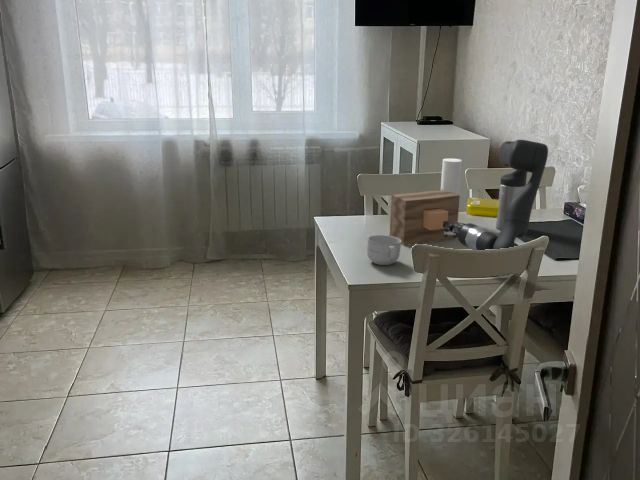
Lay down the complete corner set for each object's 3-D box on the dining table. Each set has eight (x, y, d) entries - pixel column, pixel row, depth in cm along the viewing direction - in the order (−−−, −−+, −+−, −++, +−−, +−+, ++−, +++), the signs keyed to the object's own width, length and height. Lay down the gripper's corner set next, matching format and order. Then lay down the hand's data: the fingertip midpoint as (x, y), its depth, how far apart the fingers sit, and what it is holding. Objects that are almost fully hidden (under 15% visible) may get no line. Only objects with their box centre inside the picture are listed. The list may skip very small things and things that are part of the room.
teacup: (364, 257, 206) (365, 233, 204) (396, 256, 207) (397, 233, 205) (371, 271, 193) (372, 247, 191) (405, 271, 194) (406, 246, 192)
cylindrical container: (443, 219, 251) (447, 157, 244) (459, 222, 247) (464, 159, 240) (435, 223, 246) (439, 160, 238) (452, 226, 242) (457, 162, 234)
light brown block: (447, 228, 218) (448, 211, 216) (429, 230, 215) (431, 213, 214) (434, 222, 225) (435, 206, 223) (417, 224, 222) (418, 207, 221)
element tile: (503, 218, 255) (504, 207, 254) (465, 215, 259) (466, 204, 257) (503, 209, 269) (504, 198, 268) (467, 206, 273) (468, 196, 271)
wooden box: (456, 238, 227) (459, 195, 222) (403, 245, 218) (405, 201, 214) (440, 231, 235) (443, 189, 231) (389, 237, 227) (391, 194, 222)
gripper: (494, 224, 199) (462, 211, 214) (459, 229, 194) (429, 215, 209) (492, 246, 201) (460, 232, 217) (457, 251, 196) (427, 236, 212)
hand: (445, 223), depth 213 cm, fingers closed
